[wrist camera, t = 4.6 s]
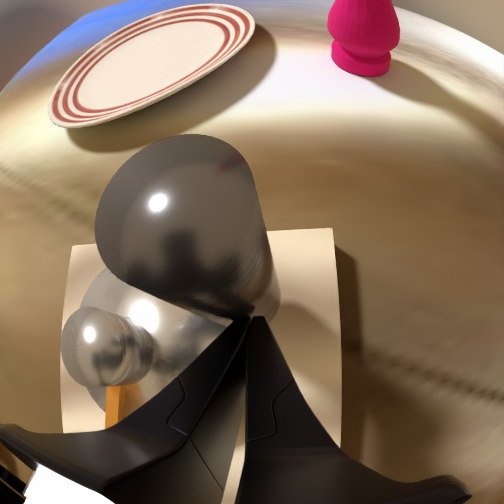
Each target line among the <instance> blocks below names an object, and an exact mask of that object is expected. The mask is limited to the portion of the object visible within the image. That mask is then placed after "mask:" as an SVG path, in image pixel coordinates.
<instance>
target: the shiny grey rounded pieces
mask: <svg viewBox="0 0 504 504" xmlns="http://www.w3.org/2000/svg"><path fill="white" fill-rule="evenodd" d="M95 239H96V244H97V248H98V251H99V254H100V256H101V259H102V260H103V262H104V264H105V265H106V267H105V268H104V269H103V270H102V271H101V272H100V273H99V274H98V275H97V277H96V278H95V279H94V281H93V282H92V283H91V285H90V286H89V288H88V290H87V291H86V293H85V295H84V298H83V300H82V302H81V305H80V308H79V309H78V310H76V311H75V312H74V313H73V314H72V315H71V316H70V317H69V318H68V320H67V321H66V323H65V325H64V328H63V331H62V335H61V342H60V348H61V356H62V360H63V363H64V365H65V368H66V370H67V372H68V373H69V375H70V376H71V377H72V378H73V379H74V380H75V381H76V382H77V383H79V384H80V385H82V386H84V387H86V388H87V390H88V392H89V393H90V395H91V396H92V398H93V399H94V401H95V402H96V403H97V405H98V406H99V407H100V408H101V409H102V410H103V411H104V412H105V429H106V428H109V427H111V426H113V425H115V424H116V423H118V422H119V421H121V420H122V419H124V418H125V417H126V416H128V415H129V414H131V413H132V412H133V411H135V410H136V409H138V408H139V407H140V406H142V405H143V404H144V403H146V402H147V401H148V400H150V399H151V398H152V397H154V396H155V395H156V394H157V393H159V392H160V391H161V390H162V389H163V388H164V387H165V386H167V385H168V384H169V383H170V382H171V381H172V380H173V379H174V378H175V377H178V374H179V373H181V372H182V371H183V370H184V369H185V368H186V367H187V366H188V365H189V364H190V363H191V362H192V361H193V360H194V359H195V358H196V357H197V356H198V355H199V354H200V353H201V352H202V351H203V350H204V349H205V348H206V347H207V346H208V345H209V344H210V343H211V342H213V341H214V340H215V339H216V338H217V337H218V336H219V335H220V334H221V333H222V332H223V331H224V330H225V329H226V328H227V327H228V326H229V325H230V324H231V323H232V322H233V321H235V320H240V319H243V318H246V317H249V316H250V317H251V319H252V317H253V316H265V317H266V319H267V321H268V323H269V322H271V321H272V319H273V318H274V317H275V315H276V314H277V312H278V310H279V307H280V302H281V291H280V287H279V282H278V278H277V274H276V270H275V265H274V261H273V257H272V253H271V248H270V244H269V240H268V236H267V232H266V228H265V223H264V219H263V215H262V211H261V207H260V203H259V199H258V195H257V191H256V187H255V183H254V179H253V176H252V172H251V170H250V168H249V166H248V163H247V162H246V160H245V159H244V158H243V156H242V155H241V154H240V153H239V152H238V151H237V150H236V149H235V148H234V147H232V146H231V145H230V144H228V143H226V142H224V141H222V140H220V139H217V138H215V137H211V136H207V135H199V134H184V135H177V136H173V137H169V138H165V139H163V140H160V141H157V142H155V143H153V144H151V145H149V146H147V147H145V148H144V149H142V150H140V151H139V152H138V153H136V154H135V155H133V156H132V157H131V158H130V159H129V160H128V161H126V162H125V163H124V164H123V165H122V166H121V167H120V169H119V170H118V171H117V172H116V173H115V175H114V176H113V177H112V179H111V180H110V182H109V183H108V185H107V187H106V189H105V190H104V192H103V194H102V197H101V200H100V202H99V205H98V209H97V213H96V219H95Z"/></svg>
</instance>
